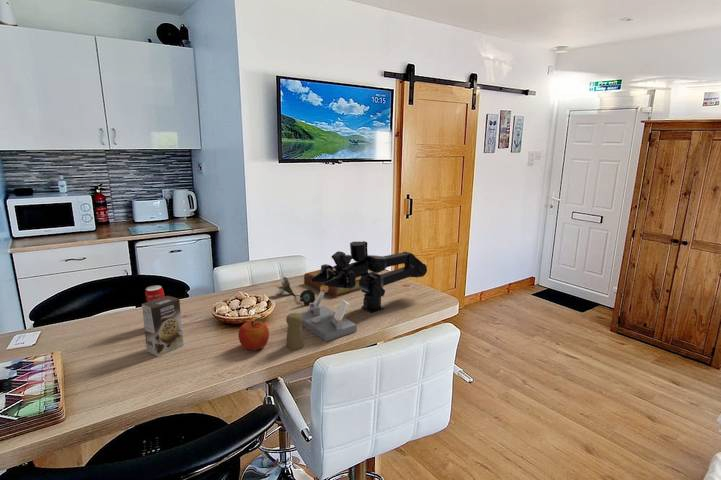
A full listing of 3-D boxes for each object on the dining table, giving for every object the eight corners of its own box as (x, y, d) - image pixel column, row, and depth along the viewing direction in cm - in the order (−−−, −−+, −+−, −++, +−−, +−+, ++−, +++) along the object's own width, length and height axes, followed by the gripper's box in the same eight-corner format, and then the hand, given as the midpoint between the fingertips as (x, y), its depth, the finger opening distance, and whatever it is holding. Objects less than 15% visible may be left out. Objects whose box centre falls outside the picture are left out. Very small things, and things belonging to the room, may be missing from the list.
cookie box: (158, 357, 125) (152, 308, 121) (146, 351, 128) (140, 303, 124) (184, 345, 132) (180, 298, 129) (172, 340, 136) (167, 294, 132)
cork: (300, 351, 129) (300, 319, 127) (282, 349, 131) (281, 317, 128) (307, 342, 135) (306, 311, 133) (289, 340, 136) (288, 309, 134)
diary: (304, 285, 191) (303, 273, 190) (334, 277, 204) (334, 265, 203) (335, 298, 175) (335, 285, 174) (366, 288, 188) (366, 276, 186)
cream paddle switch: (334, 323, 144) (345, 300, 144) (339, 328, 140) (350, 304, 140) (329, 321, 143) (340, 298, 143) (334, 326, 139) (345, 302, 139)
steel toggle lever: (315, 311, 154) (327, 284, 154) (318, 314, 152) (330, 287, 152) (308, 309, 153) (321, 282, 153) (311, 312, 150) (324, 284, 150)
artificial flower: (299, 311, 163) (291, 289, 161) (276, 300, 182) (268, 280, 179) (317, 301, 168) (310, 279, 165) (293, 291, 186) (286, 271, 183)
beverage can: (173, 324, 147) (169, 285, 144) (157, 332, 141) (152, 291, 138) (161, 321, 149) (157, 282, 146) (145, 328, 144) (140, 288, 140)
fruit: (244, 339, 137) (242, 312, 134) (272, 340, 136) (271, 312, 134) (234, 354, 127) (232, 324, 125) (265, 355, 127) (263, 325, 125)
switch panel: (324, 311, 160) (324, 298, 159) (356, 331, 144) (356, 316, 142) (294, 320, 152) (294, 306, 151) (325, 341, 136) (325, 326, 135)
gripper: (336, 247, 160) (301, 257, 151) (365, 252, 145) (328, 263, 136) (340, 274, 162) (306, 285, 153) (369, 282, 147) (333, 295, 138)
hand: (317, 282), depth 145 cm, fingers open, 9 cm apart
